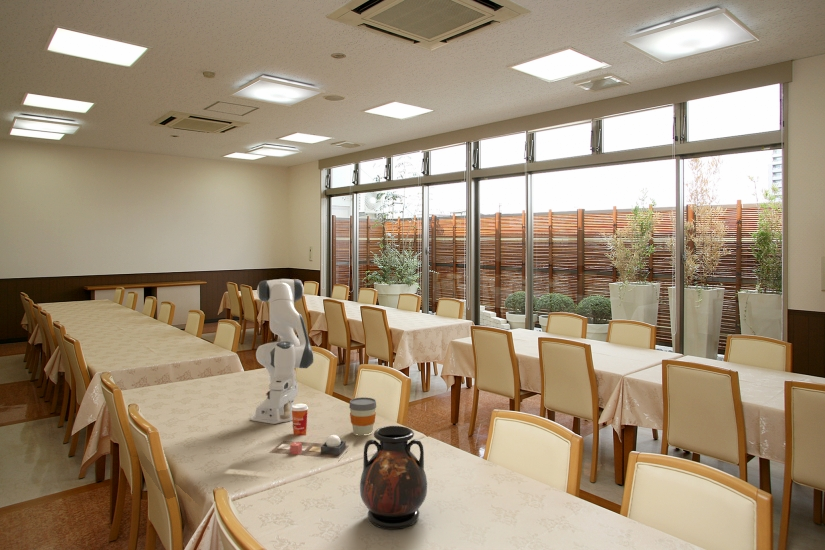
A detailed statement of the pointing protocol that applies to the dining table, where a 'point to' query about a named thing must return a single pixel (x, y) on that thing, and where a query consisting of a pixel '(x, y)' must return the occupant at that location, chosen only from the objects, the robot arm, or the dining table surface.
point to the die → (295, 448)
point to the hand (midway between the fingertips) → (284, 412)
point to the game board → (312, 449)
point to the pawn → (286, 411)
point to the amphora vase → (393, 479)
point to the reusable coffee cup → (362, 415)
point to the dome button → (333, 441)
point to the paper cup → (299, 419)
